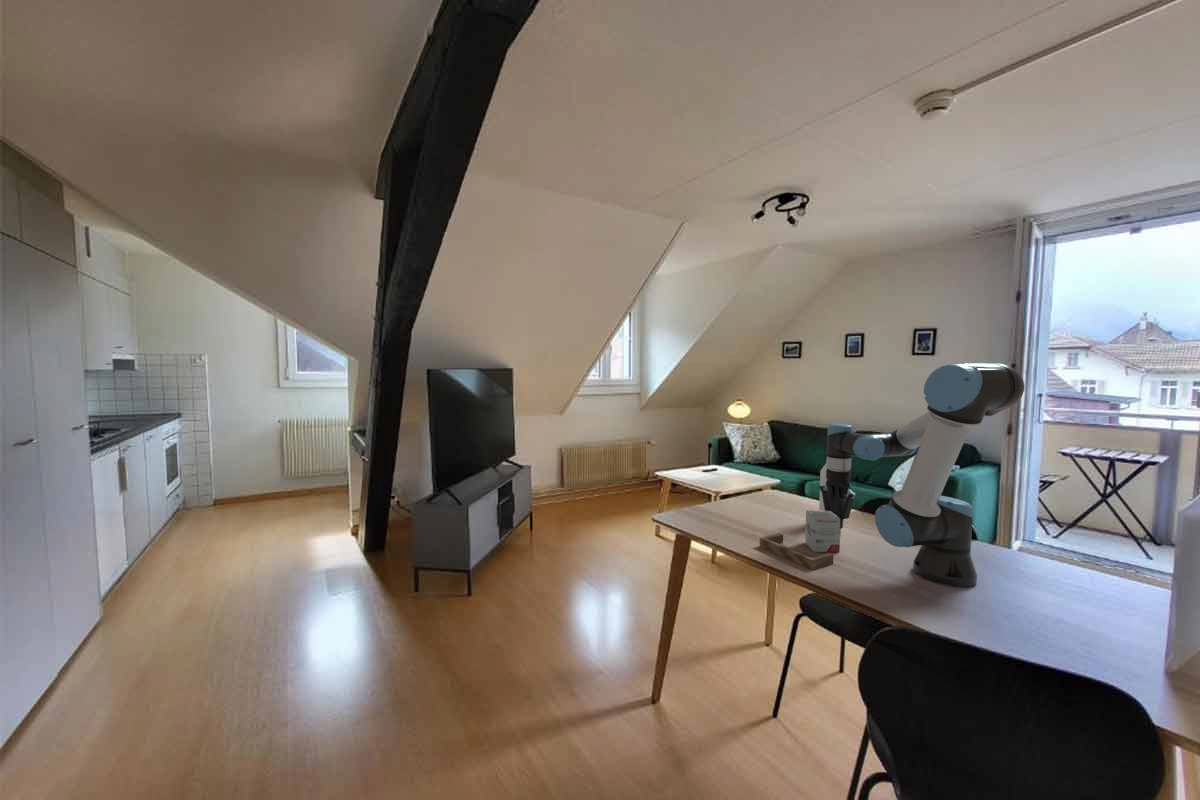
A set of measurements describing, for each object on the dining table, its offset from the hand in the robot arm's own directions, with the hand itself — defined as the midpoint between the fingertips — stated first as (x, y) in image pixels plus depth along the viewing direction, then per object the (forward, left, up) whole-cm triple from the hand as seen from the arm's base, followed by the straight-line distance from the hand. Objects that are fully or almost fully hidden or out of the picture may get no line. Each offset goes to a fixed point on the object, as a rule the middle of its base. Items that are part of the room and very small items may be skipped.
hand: (836, 536), depth 165 cm
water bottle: (+14, -16, -3) cm, 21 cm away
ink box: (0, +7, -3) cm, 8 cm away
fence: (0, +20, -2) cm, 20 cm away
